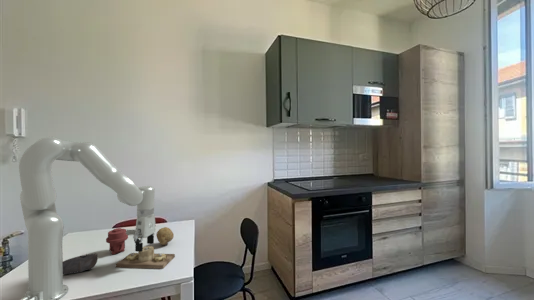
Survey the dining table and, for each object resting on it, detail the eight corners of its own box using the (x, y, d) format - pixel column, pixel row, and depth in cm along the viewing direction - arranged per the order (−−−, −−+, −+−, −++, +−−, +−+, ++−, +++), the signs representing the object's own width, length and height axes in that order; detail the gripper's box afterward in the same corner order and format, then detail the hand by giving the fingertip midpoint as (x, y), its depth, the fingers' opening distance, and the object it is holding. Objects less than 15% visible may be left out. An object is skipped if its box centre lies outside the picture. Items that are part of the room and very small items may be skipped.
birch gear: (149, 262, 114) (149, 251, 114) (135, 261, 115) (135, 251, 115) (156, 255, 121) (156, 246, 121) (143, 255, 122) (143, 245, 122)
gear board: (163, 268, 111) (163, 253, 111) (115, 267, 113) (115, 252, 113) (174, 256, 123) (174, 243, 123) (131, 255, 125) (131, 242, 125)
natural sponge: (171, 240, 145) (171, 224, 145) (175, 245, 138) (175, 228, 138) (155, 243, 141) (155, 226, 140) (157, 249, 133) (157, 231, 133)
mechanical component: (132, 249, 134) (117, 257, 124) (116, 247, 136) (101, 255, 126) (132, 226, 133) (117, 233, 124) (116, 225, 135) (101, 231, 126)
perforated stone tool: (53, 278, 103) (53, 262, 103) (58, 272, 108) (58, 257, 108) (95, 271, 110) (95, 255, 110) (98, 266, 114) (98, 251, 114)
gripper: (142, 216, 109) (141, 255, 109) (161, 208, 126) (161, 241, 126) (126, 216, 109) (126, 254, 109) (148, 207, 127) (147, 240, 127)
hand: (144, 247), depth 118 cm, fingers open, 9 cm apart
